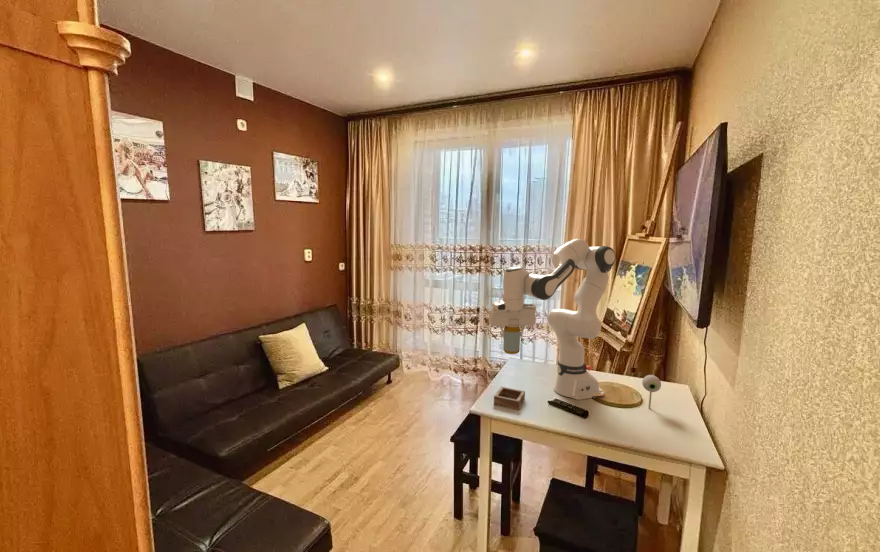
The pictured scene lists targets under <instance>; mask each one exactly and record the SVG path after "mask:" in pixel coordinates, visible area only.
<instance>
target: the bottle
mask: <svg viewBox="0 0 880 552" xmlns="http://www.w3.org/2000/svg"><path fill="white" fill-rule="evenodd" d="M520 329H521V327H520V326H519V319H518V320H508V326H504V328H503V330H504V332H505V336H503V344H502V345H503V346H502V347H503V350H502V351H503V352H504V353H505V354H509V355H517V354H518V353H520V351H521V350H520V349H521V335H520Z"/></svg>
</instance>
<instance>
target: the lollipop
mask: <svg viewBox="0 0 880 552" xmlns="http://www.w3.org/2000/svg"><path fill="white" fill-rule="evenodd" d="M641 382H642V387H643V388H644V389H645V390H646V391H647V392H649V398H648V409H649V410H651V406H652V393H656V392H658V391H659V390H660V389H661V387H662V381H661V379H659V377H657V376H656V375H653V374H648V375H645V376H643V379H642V381H641Z"/></svg>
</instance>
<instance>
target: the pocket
mask: <svg viewBox="0 0 880 552" xmlns="http://www.w3.org/2000/svg"><path fill="white" fill-rule="evenodd" d="M525 396H526V391H524V390H520V389H516V388H511V387H505V386H500V388H499V389H498V390H497V392H496V393H495V394H494V395H493V406H497V407H502V408H506V409H509V410H510V409H511V410H516V411H519V410H520V409H521V406H522V405H523V404H524V402H525V399H526V397H525Z"/></svg>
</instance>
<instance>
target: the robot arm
mask: <svg viewBox="0 0 880 552" xmlns="http://www.w3.org/2000/svg"><path fill="white" fill-rule="evenodd" d="M616 257H617V256H616V252H615V251H614V249H613V248H612V247H611V246H606V245H600V246H589V244H588V242H587V241H586V240H584V239H583V238H578V237H577V238H573V239H572V240H569V241H567V242H565V243H564V244H563V245H561V246H559V247H558V248H557V249H555V250H554V251H553V252H552V255H551V263H552V265H553V267H554V268H555V270H553V272H551V273H550V274H547V275H546V274H545V275H541V274H535V273H531V272H529V271H526V270H525V269H524V268H523V267H522V266H521V265H520V266H519V265H518V266H517V265H516V266H509V267H507V268H506V269H505V271H504V274H503V280H502V281H503V282H502V289H503V295H502V298H501V299H500V300H496V301H494V302H492V303H491V307H492V308H491V309H490V311H489V315H488V324H489V325H490V326H491V327H499V329H500V331H501V336H502V337H504V336H505V332H504V327H505V326H508V320H518V319H519V327H520V336H523V332H524V330H525V329H526V326H535V325H536V323H537V317H536V312H537V307H536V305H535V304H533V303H524V295H526V296H529V297H534V298H537V299H539V300H542V301H547V300H549V299H551V298H552V297H553V296H554V295H555V293H556V291H557V289H558V288H559V287H560V286H561V285H562V284H563V283H564V282H565V281H566V280H568V278H569V277H570V276H571V275H572V274H573V272H574V271H575V270H582V271H583V270H586V271H585V276H584V278H583V279H582V280H581V282H580V284H579V286H578V288H577V290H576V292H575V293H574V295H573V299H574V303H575V304H576V305H577V310H571V309H569V308H568V309H567V308H553V309H552V310H551V311H550V312H549V313H548V317H547V322H548V325H549V327H550V328H551V329H552V330H553V331H554V333H555V335H556V338H557V341H558V350H559V351H558V353H559V354H558V360H557V367H556V369H557V370H556V371H557V375H556V380H555V384H554V386H553V390H554V391H555V392H556V393H557V394H559V395H561V396H564V397H569V398H572V399H574V400H578V401H580V400H581V401H582V400H585V399H586V400H587V399H593V398H594V397H593V396H595V395H594V394H598V393H600V394H604V395H605V393H604V390H603V389H602V388H601V387H600V385H599V382H598V379H597V378H596V377H595V376H594V375H593V374H591V373H590V372H589V371H591V370H592V366H590V365H588V364H587V363H585V360H584V359H585V347H584V346H583V344H582V343H581V342H580V341H579V339H578V337H579V338H582V339H595V338H597V337H599V334H600V333H601V330H602V323H601V321H600V319H599V318H598V316H597V308H598V305H599V303H600V301H601V299H602V297H603V295H604V293H605V291H606V288H607V285H608V282H609V278H610V277H609V274H608V272H610V271H611V270H612V268H613V266H614V264H615V263H616V259H617V258H616ZM600 391H603V392H600ZM592 397H593V398H592Z"/></svg>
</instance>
